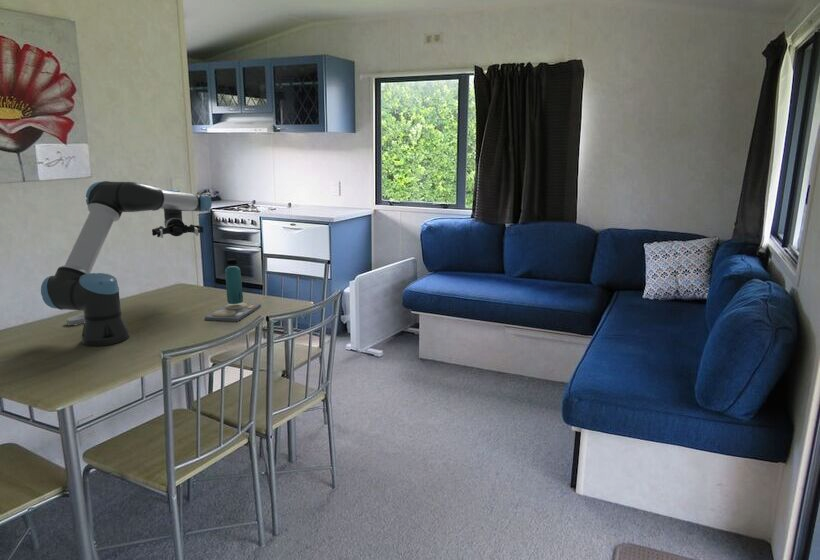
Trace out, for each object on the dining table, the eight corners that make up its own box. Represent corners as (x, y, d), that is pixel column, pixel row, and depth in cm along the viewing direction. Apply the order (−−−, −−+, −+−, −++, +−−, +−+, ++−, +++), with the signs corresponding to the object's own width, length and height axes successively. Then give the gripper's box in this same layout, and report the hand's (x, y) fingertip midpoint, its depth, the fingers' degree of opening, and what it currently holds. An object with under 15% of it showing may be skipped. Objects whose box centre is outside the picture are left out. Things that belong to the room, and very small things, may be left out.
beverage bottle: (241, 307, 247) (237, 260, 242) (225, 307, 247) (221, 260, 243) (245, 303, 253) (242, 257, 249) (230, 303, 254) (226, 257, 249)
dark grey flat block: (238, 321, 234) (237, 317, 233) (204, 319, 236) (204, 316, 235) (261, 306, 255) (260, 302, 254) (230, 305, 257) (230, 301, 257)
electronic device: (60, 301, 227) (93, 291, 241) (64, 326, 230) (97, 314, 243) (70, 303, 225) (103, 293, 239) (74, 327, 228) (106, 316, 241)
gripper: (205, 233, 270) (212, 240, 251) (145, 237, 259) (147, 244, 241) (204, 216, 268) (210, 222, 249) (144, 220, 258) (145, 226, 239)
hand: (179, 233), depth 245 cm, fingers open, 13 cm apart
